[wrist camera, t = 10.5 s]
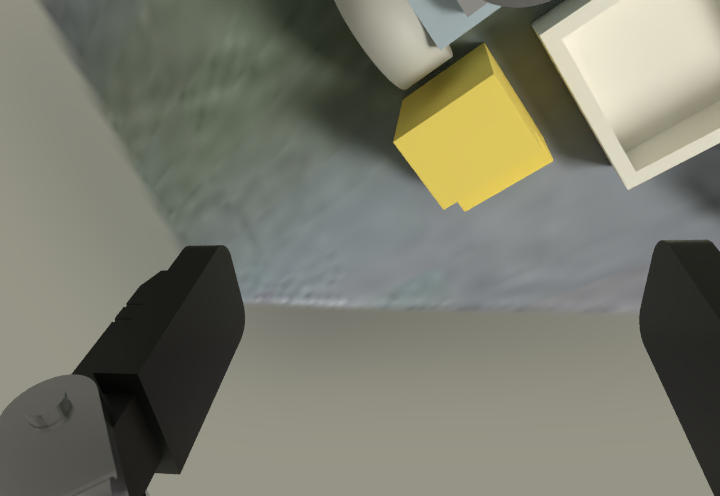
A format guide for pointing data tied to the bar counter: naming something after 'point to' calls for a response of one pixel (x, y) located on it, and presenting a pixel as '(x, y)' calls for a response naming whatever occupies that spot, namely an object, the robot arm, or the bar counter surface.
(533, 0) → the pin
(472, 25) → the trolley
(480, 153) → the block
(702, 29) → the tray
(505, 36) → the bar counter surface
